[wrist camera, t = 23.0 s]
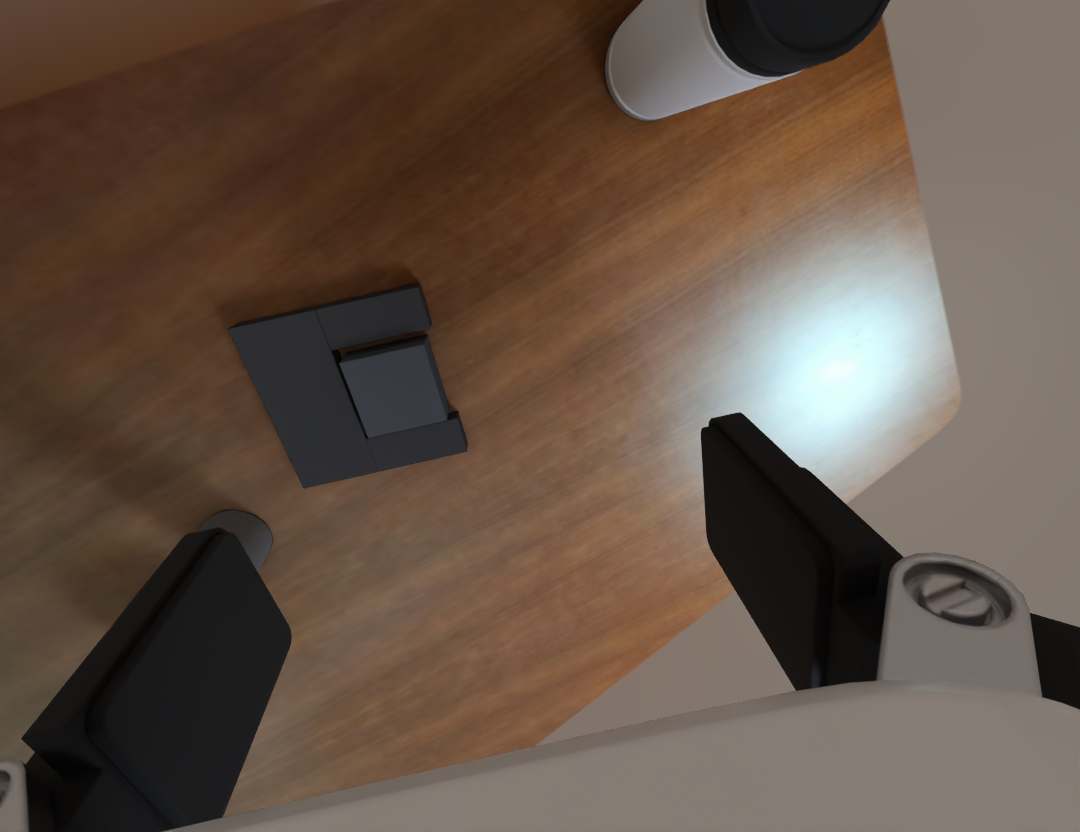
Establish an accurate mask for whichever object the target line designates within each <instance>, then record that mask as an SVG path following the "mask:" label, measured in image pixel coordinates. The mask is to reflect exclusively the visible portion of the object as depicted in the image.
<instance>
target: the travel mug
mask: <svg viewBox="0 0 1080 832" xmlns="http://www.w3.org/2000/svg"><path fill="white" fill-rule="evenodd" d="M889 1H890V0H643V1H642V2H641V3H640V4H639V5H638V6H637V7H636V9H635V10H634V11H633V12H632V13H631V14H630V15H629V16H628V17H627V18H626V19H625V20H624V22H623V23H622V24H621V25H620V26H619V28H618V29H617V30H616V32H615V34H614V35H613V37H612V39H611V41H610V44H609V47H608V50H607V55H606V61H605V76H606V82H607V86H608V89H609V92H610V94H611V96H612V98H613V100H614V102H615V103H616V104H617V105H618V107H619V108H620V109H621V110H622V111H623V112H625V113H626V114H627V115H629V116H631V117H633V118H635V119H639V120H644V121H646V120H656V119H660V118H663V117H667V116H669V115H673V114H676V113H679V112H682V111H685V110H688V109H691V108H694V107H697V106H700V105H703V104H706V103H709V102H712V101H715V100H718V99H721V98H724V97H727V96H730V95H734V94H737V93H740V92H743V91H746V90H749V89H752V88H755V87H758V86H761V85H764V84H767V83H770V82H773V81H776V80H779V79H782V78H784V77H788V76H791V75H794V74H796V73H798V72H800V71H802V70H804V69H807V68H811V67H814V66H817V65H819V64H822V63H825V62H828V61H832V60H834V59H836V58H838V57H840V56H842V55H844V54H846V53H848V52H849V51H850V50H852V49H853V48H854V47H856V46H857V45H858V44H859V43H861V42H862V41H863V40H864V39H865V38H866V37H867V36H868V34H869V33H870V32H871V31H872V30H873V29H874V28H875V27H876V25H877V23H878V22H879V20H880V18H881V16H882V14H883V12H884V10H885V9H886V7H887V5H888V3H889Z"/></svg>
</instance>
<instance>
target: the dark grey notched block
mask: <svg viewBox="0 0 1080 832" xmlns="http://www.w3.org/2000/svg"><path fill="white" fill-rule="evenodd" d="M431 324H432V322H431V319H430V315H429V312H428V309H427V305H426V302H425V298H424V295H423V292H422V288H421V285H420V283H418V284H413V285H409V286H404V287H400V288H395V289H391V290H386V291H382V292H377V293H373V294H368V295H364V296H359V297H355V298H350V299H346V300H341V301H337V302H332V303H328V304H323V305H321V306H320V305H319V306H314V307H310V308H305V309H301V310H296V311H292V312H287V313H283V314H278V315H274V316H269V317H265V318H260V319H256V320H251V321H247V322H242V323H238V324H235V325H234V326H232V327H230V328H229V329H228V331H229V333H230V335H231V337H232V339H233V341H234V343H235V346H236V348H237V350H238V352H239V354H240V356H241V358H242V360H243V362H244V364H245V366H246V369H247V371H248V373H249V375H250V377H251V379H252V381H253V383H254V385H255V387H256V390H257V392H258V394H259V396H260V398H261V400H262V402H263V404H264V406H265V408H266V410H267V413H268V415H269V417H270V419H271V421H272V423H273V425H274V427H275V429H276V431H277V433H278V436H279V438H280V440H281V442H282V444H283V446H284V448H285V450H286V452H287V454H288V456H289V459H290V461H291V463H292V465H293V467H294V469H295V471H296V473H297V475H298V477H299V480H300V482H301V484H302V486H303V488H308V487H313V486H317V485H322V484H326V483H330V482H335V481H339V480H344V479H348V478H353V477H357V476H361V475H366V474H370V473H375V472H378V471H384V470H388V469H392V468H397V467H401V466H406V465H410V464H414V463H419V462H423V461H428V460H432V459H436V458H441V457H445V456H450V455H454V454H459V453H463V452H467V444H468V443H467V440H466V436H465V433H464V430H463V426H462V423H461V420H460V416H459V413H458V411H455V412H451V413H448V418H447V420H446V421H442V422H437V423H433V424H428V425H424V426H419V427H415V428H411V429H406V430H402V431H397V432H393V433H388V434H384V435H379V436H375V437H371V438H368V436H367V434H366V431H365V428H364V426H363V423H362V421H361V418H360V416H359V413H358V411H357V408H356V405H355V403H354V400H353V398H352V395H351V393H350V390H349V387H348V385H347V382H346V380H345V377H344V375H343V372H342V370H341V367H340V364H339V363H340V361H341V358H340V355H339V352H338V350H337V349H342V348H346V347H351V346H355V345H360V344H364V343H369V342H373V341H378V340H382V339H387V338H391V337H396V336H400V335H405V334H409V333H413V332H418V331H422V330H427V329H430V328H431Z"/></svg>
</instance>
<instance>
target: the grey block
mask: <svg viewBox="0 0 1080 832" xmlns="http://www.w3.org/2000/svg"><path fill="white" fill-rule="evenodd" d="M339 364H340V367H341V370H342V372H343V375H344V377H345V380H346V382H347V385H348V387H349V390H350V393H351V395H352V398H353V400H354V403H355V405H356V408H357V411H358V413H359V416H360V418H361V421H362V423H363V426H364V428H365V431H366V434H367V436H368V438H371V437H375V436H379V435H384V434H388V433H393V432H397V431H402V430H406V429H411V428H415V427H419V426H424V425H428V424H433V423H437V422H442V421H446V420H447V418H448V410H449V405H448V402H447V399H446V395H445V392H444V389H443V385H442V382H441V379H440V376H439V372H438V369H437V366H436V362H435V359H434V356H433V352H432V349H431V346H430V343H429V339H428V336H427V335H424V336H419V337H415V338H410V339H406V340H401V341H397V342H392V343H388V344H383V345H379V346H374V347H370V348H365V349H361V350H356V351H352V352H348V353H347V354H346V355H345V356H344V358H343V359H342V360H341V361H340V363H339Z"/></svg>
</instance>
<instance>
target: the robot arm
mask: <svg viewBox="0 0 1080 832" xmlns="http://www.w3.org/2000/svg"><path fill="white" fill-rule="evenodd" d="M701 445H702V463H703V481H704V499H705V516H706V533H707V539H708V543H709V546H710V548H711V551H712V552H713V554H714V556H715V558H716V559H717V561H718V562H719V564H720V566H721V567H722V569H723V571H724V572H725V574H726V576H727V577H728V579H729V581H730V582H731V584H732V586H733V587H734V589H735V591H736V592H737V594H738V596H739V597H740V599H741V600H742V602H743V604H744V605H745V607H746V609H747V610H748V612H749V614H750V615H751V617H752V619H753V620H754V622H755V624H756V625H757V627H758V629H759V630H760V632H761V633H762V635H763V637H764V638H765V640H766V642H767V643H768V645H769V647H770V648H771V650H772V652H773V653H774V655H775V657H776V658H777V660H778V661H779V663H780V665H781V667H782V668H783V670H784V671H785V673H786V675H787V676H788V678H789V680H790V681H791V683H792V685H793V686H794V688H795V690H796V691H793V692H788V693H783V694H778V695H773V696H768V697H764V698H759V699H753V700H748V701H743V702H738V703H733V704H729V705H724V706H719V707H714V708H709V709H704V710H699V711H694V712H689V713H684V714H680V715H675V716H671V717H666V718H662V719H657V720H653V721H648V722H644V723H639V724H634V725H630V726H625V727H621V728H616V729H612V730H607V731H603V732H598V733H594V734H589V735H585V736H580V737H575V738H571V739H566V740H562V741H557V742H553V743H548V744H544V745H539V746H535V747H530V748H526V749H521V750H517V751H512V752H508V753H503V754H499V755H494V756H490V757H486V758H481V759H477V760H472V761H468V762H463V763H459V764H455V765H450V766H446V767H441V768H437V769H432V770H428V771H424V772H419V773H415V774H410V775H406V776H402V777H397V778H393V779H388V780H384V781H380V782H375V783H371V784H366V785H362V786H358V787H353V788H349V789H344V790H340V791H336V792H331V793H327V794H322V795H318V796H314V797H309V798H305V799H301V800H297V801H292V802H288V803H284V804H279V805H275V806H271V807H266V808H262V809H258V810H254V811H249V812H245V813H241V814H236V815H232V816H228V817H224V818H222V817H223V815H224V812H225V810H226V807H227V805H228V802H229V800H230V797H231V795H232V792H233V790H234V787H235V785H236V782H237V779H238V777H239V774H240V772H241V769H242V767H243V764H244V762H245V759H246V757H247V754H248V752H249V749H250V747H251V744H252V742H253V739H254V737H255V734H256V732H257V729H258V727H259V724H260V721H261V719H262V716H263V714H264V711H265V709H266V706H267V704H268V701H269V699H270V696H271V694H272V691H273V689H274V686H275V684H276V681H277V679H278V676H279V674H280V671H281V668H282V666H283V663H284V661H285V658H286V656H287V653H288V651H289V648H290V645H291V639H292V638H291V630H290V627H289V625H288V623H287V622H286V620H285V618H284V617H283V615H282V613H281V611H280V610H279V608H278V606H277V604H276V603H275V601H274V599H273V598H272V596H271V594H270V592H269V591H268V589H267V587H266V586H265V584H264V582H263V580H262V579H261V577H260V575H259V573H258V572H257V570H256V568H255V567H254V565H253V563H252V561H251V560H250V558H249V556H248V555H247V553H246V551H245V549H244V548H243V546H242V544H241V542H240V541H239V539H238V538H237V536H236V535H235V534H233V533H231V532H227V531H226V530H224V529H223V528H219V527H217V528H212V529H208V530H203V531H199V532H194V533H190V534H187V535H185V536H184V537H183V538H182V539H181V540H180V542H179V543H178V544H177V545H176V547H175V548H174V549H173V550H172V552H171V553H170V554H169V555H168V557H167V558H166V559H165V560H164V562H163V563H162V564H161V565H160V567H159V568H158V569H157V570H156V571H155V573H154V574H153V575H152V576H151V578H150V579H149V580H148V581H147V583H146V584H145V585H144V586H143V588H142V589H141V590H140V591H139V593H138V594H137V595H136V596H135V598H134V599H133V600H132V601H131V603H130V604H129V605H128V606H127V608H126V609H125V610H124V611H123V613H122V614H121V615H120V616H119V618H118V619H117V620H116V621H115V622H114V624H113V625H112V626H111V627H110V629H109V630H108V631H107V632H106V634H105V635H104V636H103V637H102V639H101V640H100V641H99V642H98V644H97V645H96V646H95V647H94V649H93V650H92V651H91V652H90V654H89V655H88V656H87V657H86V659H85V660H84V661H83V662H82V664H81V665H80V666H79V667H78V669H77V670H76V671H75V672H74V673H73V675H72V676H71V677H70V678H69V680H68V681H67V682H66V683H65V685H64V686H63V687H62V688H61V690H60V691H59V692H58V693H57V695H56V696H55V697H54V698H53V700H52V701H51V702H50V703H49V705H48V706H47V707H46V708H45V710H44V711H43V712H42V713H41V715H40V716H39V717H38V718H37V720H36V721H35V722H34V723H33V724H32V726H31V727H30V728H29V729H28V731H27V732H26V733H25V734H24V736H23V737H22V738H21V739H22V740H23V741H24V742H25V743H26V744H27V745H28V746H29V747H30V748H31V749H32V750H34V751H35V753H34V754H33V756H32V757H31V758H30V760H29V761H28V762H27V764H26V765H25V764H24V763H23V762H22V761H20V760H17V759H14V758H7V759H0V832H1080V627H1076V626H1073V625H1069V624H1066V623H1063V622H1059V621H1055V620H1052V619H1049V618H1046V617H1042V616H1039V615H1035V614H1032V613H1030V612H1029V608H1028V605H1027V603H1026V600H1025V598H1024V595H1023V594H1022V593H1021V592H1020V591H1019V590H1018V589H1017V588H1016V587H1015V585H1014V584H1013V583H1012V582H1010V581H1009V580H1008V579H1006V578H1005V577H1003V576H1002V575H1001V574H999V573H998V572H996V571H995V570H993V569H991V568H988V567H986V566H984V565H982V564H980V563H978V562H976V561H973V560H969V559H966V558H962V557H959V556H956V555H949V554H941V553H918V554H914V555H911V556H908V557H903V556H902V555H901V554H899V553H898V552H897V551H896V550H895V549H894V548H893V547H892V546H891V545H890V544H888V543H887V542H886V541H885V540H884V539H883V538H882V537H881V536H880V535H879V534H878V533H877V532H875V531H874V530H873V529H872V528H871V527H870V526H869V525H868V524H867V523H866V522H865V521H863V520H862V519H861V518H860V517H859V516H858V515H857V514H856V513H855V512H854V511H853V510H851V509H850V508H849V507H848V506H847V505H846V504H845V503H844V502H843V501H842V500H841V499H840V498H839V497H837V496H836V495H835V494H834V493H833V492H832V491H831V490H830V489H829V488H828V487H827V486H825V485H824V484H823V483H822V482H821V481H820V480H819V479H818V478H817V477H816V476H815V475H813V474H812V473H811V472H810V471H808V470H807V469H806V468H802V467H799V466H798V465H797V464H796V463H795V462H794V461H793V460H792V459H790V458H789V457H788V456H787V455H786V454H785V453H784V452H783V451H782V450H781V449H780V448H779V447H778V446H777V445H775V444H774V443H773V442H772V441H771V440H770V439H769V438H768V437H767V436H766V435H765V434H764V433H763V432H762V431H760V430H759V429H758V428H757V427H756V426H755V425H754V424H753V423H752V422H751V421H750V420H749V419H748V418H747V417H746V416H744V415H743V414H742V413H734V414H730V415H725V416H721V417H716V418H711V420H710V421H709V427H704V428H702V430H701Z"/></svg>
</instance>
